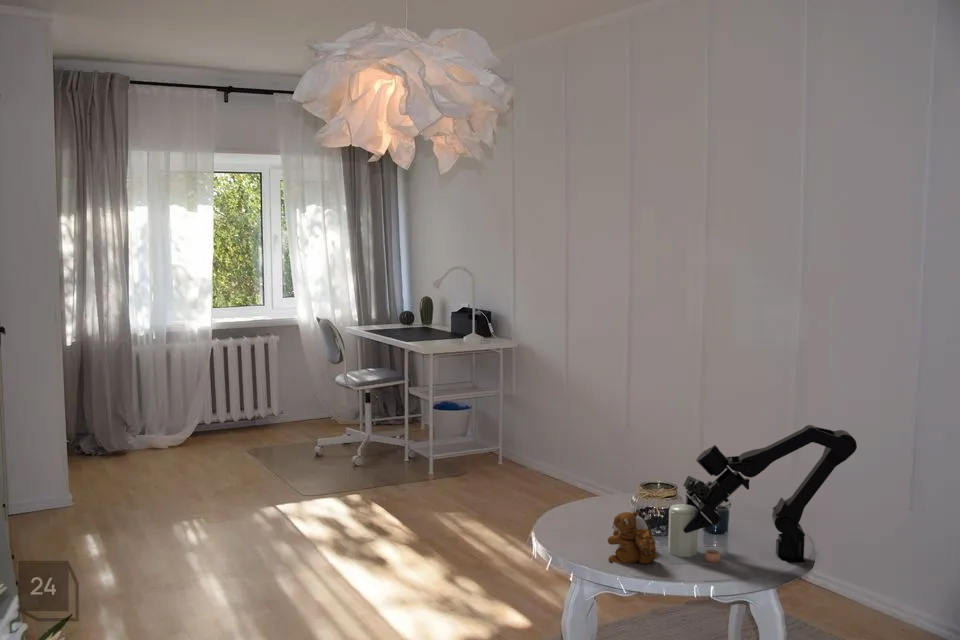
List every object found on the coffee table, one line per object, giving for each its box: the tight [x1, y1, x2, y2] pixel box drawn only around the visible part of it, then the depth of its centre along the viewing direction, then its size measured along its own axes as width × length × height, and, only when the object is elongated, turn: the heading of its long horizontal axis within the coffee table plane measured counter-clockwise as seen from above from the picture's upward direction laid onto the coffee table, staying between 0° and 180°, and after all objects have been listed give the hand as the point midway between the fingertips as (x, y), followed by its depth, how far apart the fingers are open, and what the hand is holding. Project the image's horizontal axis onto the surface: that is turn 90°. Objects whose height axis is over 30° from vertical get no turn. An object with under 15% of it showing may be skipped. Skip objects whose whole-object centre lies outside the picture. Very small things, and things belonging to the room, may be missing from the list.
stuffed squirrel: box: [607, 511, 658, 565], centre depth 243 cm, size 10×14×13 cm
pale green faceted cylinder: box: [667, 503, 699, 557], centre depth 249 cm, size 7×7×12 cm
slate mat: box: [661, 545, 734, 567], centre depth 247 cm, size 17×14×1 cm
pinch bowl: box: [705, 549, 720, 564], centre depth 243 cm, size 4×4×2 cm
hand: (680, 526), depth 249 cm, fingers open, 9 cm apart
